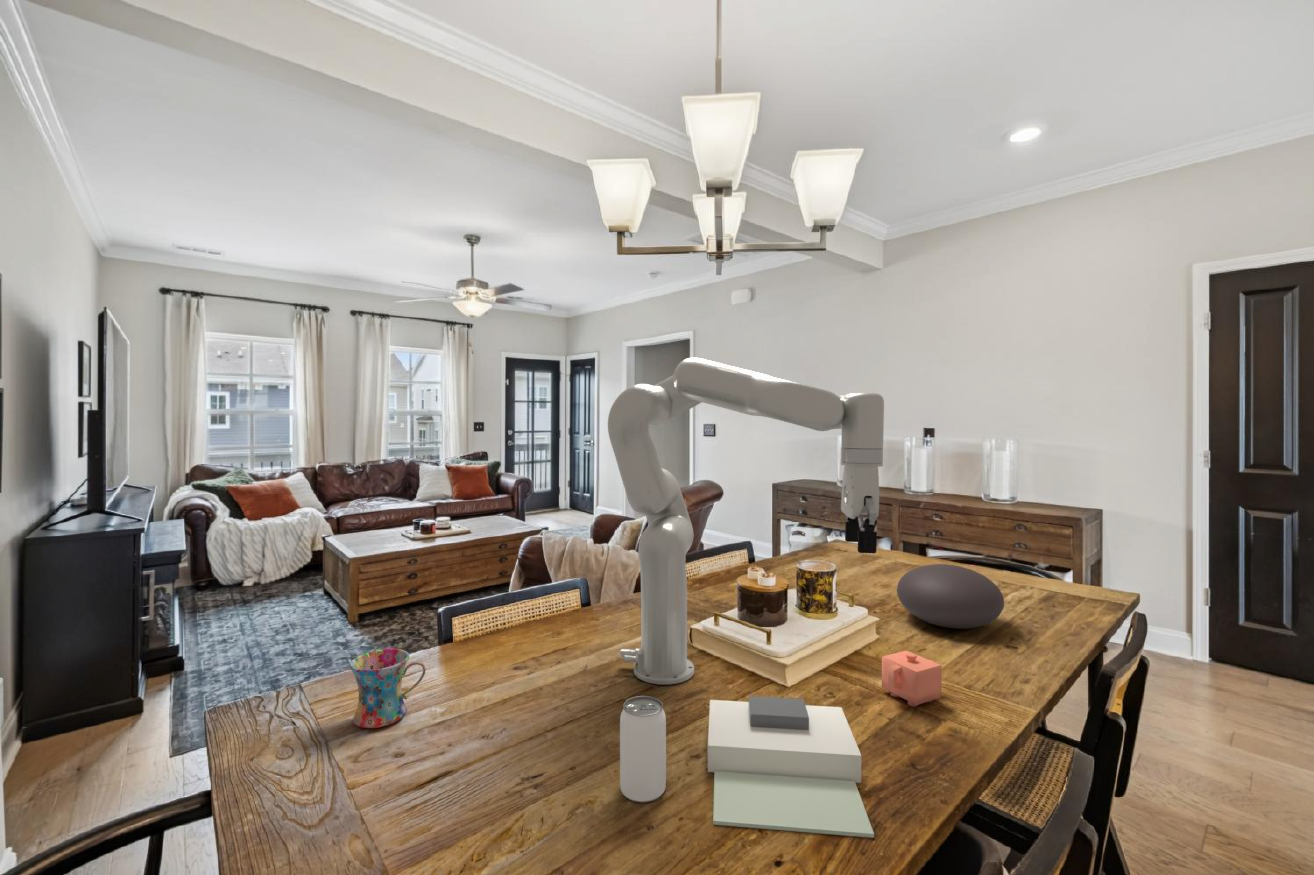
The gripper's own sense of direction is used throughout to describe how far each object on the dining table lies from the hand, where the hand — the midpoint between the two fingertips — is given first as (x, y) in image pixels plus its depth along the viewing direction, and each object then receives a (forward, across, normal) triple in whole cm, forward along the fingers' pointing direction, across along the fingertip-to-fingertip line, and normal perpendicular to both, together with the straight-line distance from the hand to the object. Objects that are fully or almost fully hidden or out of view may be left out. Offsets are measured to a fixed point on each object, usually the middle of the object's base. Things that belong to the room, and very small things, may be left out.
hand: (859, 546), depth 109 cm
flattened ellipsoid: (+28, -40, +33) cm, 59 cm away
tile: (+24, +19, -17) cm, 36 cm away
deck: (+28, +21, -17) cm, 39 cm away
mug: (+29, +18, -84) cm, 91 cm away
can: (+29, +33, -38) cm, 58 cm away
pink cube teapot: (+28, +1, +10) cm, 30 cm away
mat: (+28, +34, -18) cm, 48 cm away
